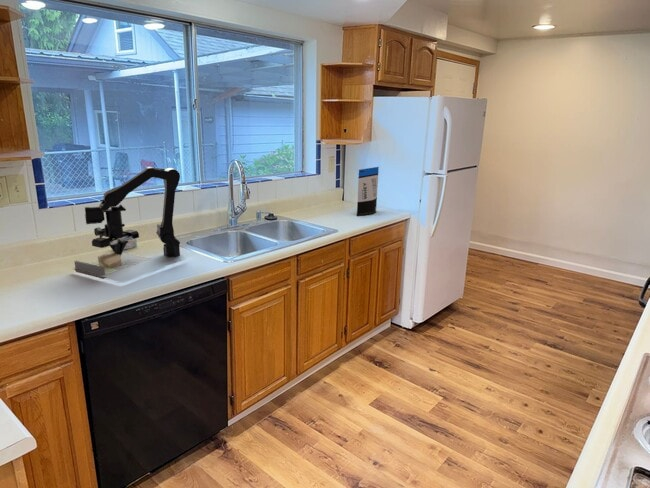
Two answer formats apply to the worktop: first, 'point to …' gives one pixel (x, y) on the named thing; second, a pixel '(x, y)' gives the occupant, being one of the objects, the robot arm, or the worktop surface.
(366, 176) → the protein powder
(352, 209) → the worktop surface
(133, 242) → the medicine box
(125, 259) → the trap runway
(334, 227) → the worktop surface
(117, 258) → the maple block
